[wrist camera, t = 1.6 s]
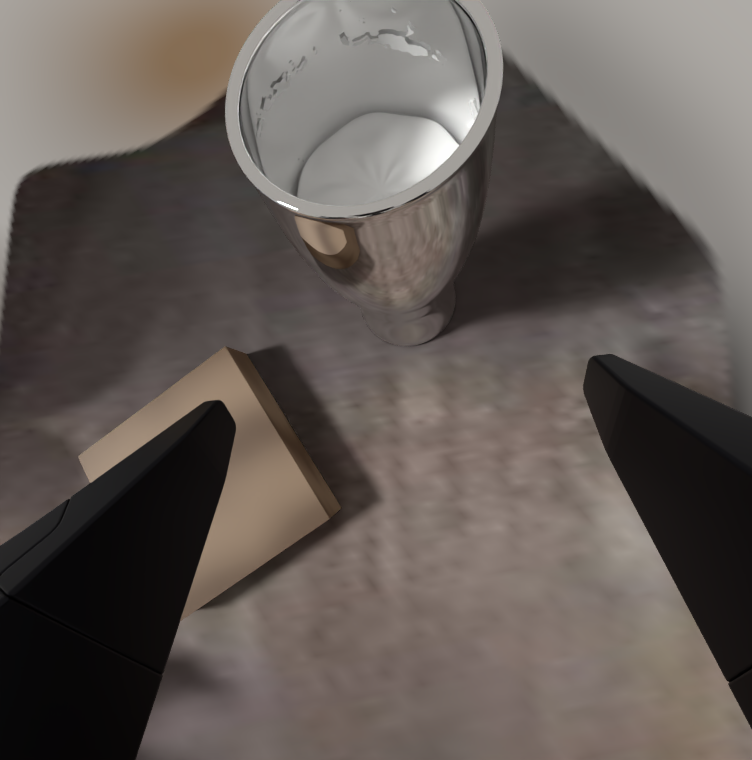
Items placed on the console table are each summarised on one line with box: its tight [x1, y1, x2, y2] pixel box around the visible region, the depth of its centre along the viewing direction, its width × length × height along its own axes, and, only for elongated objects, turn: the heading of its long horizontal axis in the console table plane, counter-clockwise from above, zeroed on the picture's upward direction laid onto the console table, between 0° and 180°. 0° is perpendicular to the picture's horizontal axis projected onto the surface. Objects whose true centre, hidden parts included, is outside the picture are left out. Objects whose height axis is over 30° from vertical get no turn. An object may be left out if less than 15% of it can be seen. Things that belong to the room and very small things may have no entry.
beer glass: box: [225, 0, 503, 346], centre depth 15 cm, size 7×7×15 cm
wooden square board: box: [78, 347, 341, 621], centre depth 22 cm, size 12×12×2 cm
